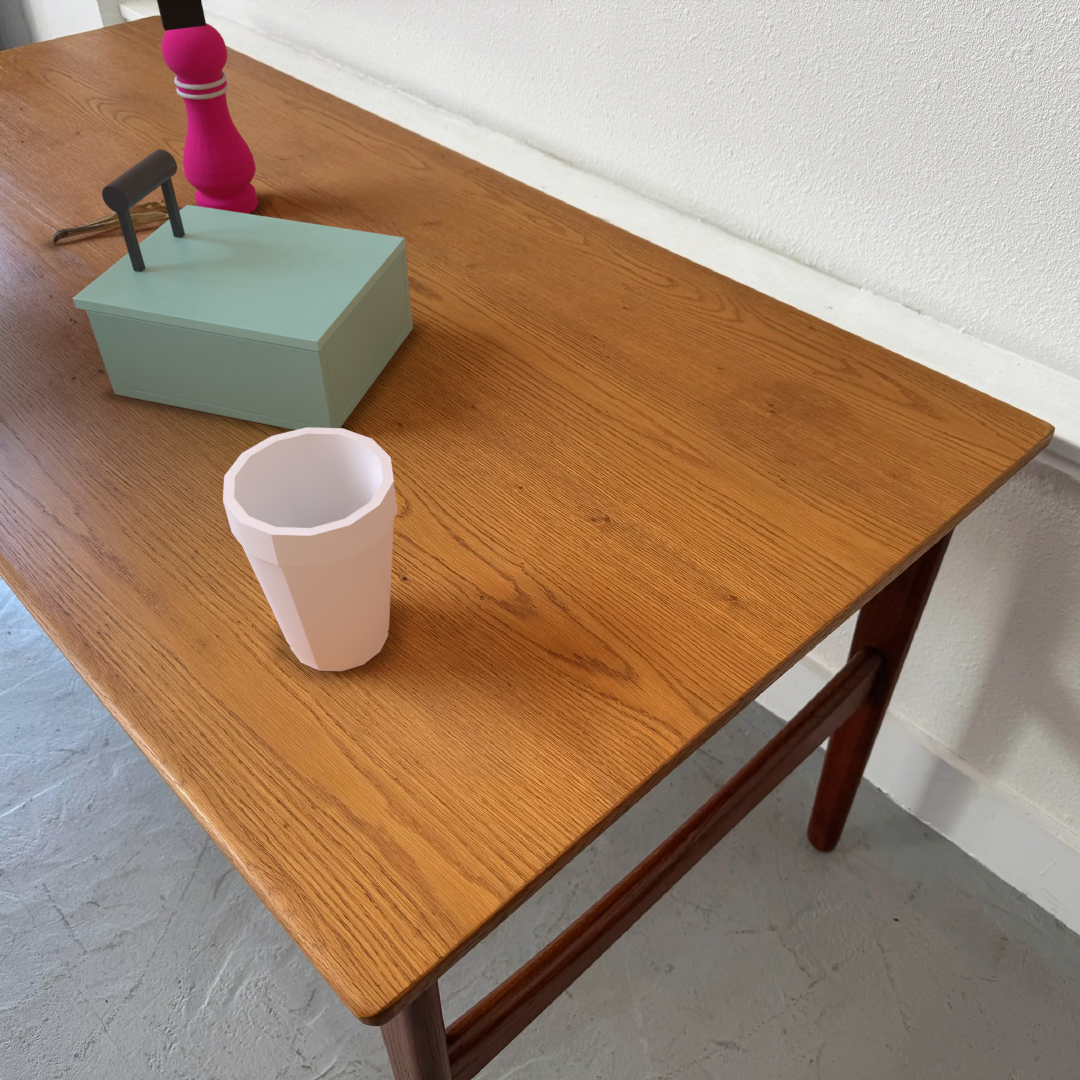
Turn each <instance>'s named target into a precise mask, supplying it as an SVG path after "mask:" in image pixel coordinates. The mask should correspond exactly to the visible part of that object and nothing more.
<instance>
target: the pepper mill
mask: <svg viewBox="0 0 1080 1080" xmlns="http://www.w3.org/2000/svg"><path fill="white" fill-rule="evenodd" d="M161 51H162V53H161V55H162V58H163V61H164V62H165V64H166V66H167V67H168V69H169V70H170V71H172V72H173V73H174V74H175V75H176V76H175V77H174V78H173V83H174V84H175V85H176V94H177V95H178V96H179V97H181V98H182V100H183V103H184V106H185V110H186V111H185V112H186V118H187V130H186V135H185V141H184V146H183V154H182V166H183V173H184V177H185V179H186V180H187V182H188V183H189V184H190V185H191V186H192V187H193V188H195V189H196V191H195V193H194V199H195V203H196V206H199V207H206V208H212V209H219V210H226V211H232V212H239V213H245V214H252V213H253V212H254V211H255V210H256V209H257V207H258V205H259V202H258V197H257V192H256V188H255V186H254V184H252V183H251V182H252V181H253V179H254V177H255V175H256V171H257V170H256V169H257V167H256V162H255V158H254V155H253V153H252V151H251V149H250V147H249V144H248V143H247V141H245V139H244V137H243V136H242V135H241V133H240V131H239V130H238V128H237V127H236V125H235V124H234V121H233V119H232V117H231V113H230V110H229V106H228V101H227V92H228V90H229V88H230V86H229V83H228V81H227V79H228V75H227V73H226V72H225V71H223V70H224V68H225V67H226V64H227V61H228V49H227V45H226V42H225V40H224V38H223V36H222V33H220V32H219V31H218V29H216V28H215V27H214V26H213V25H211V24H209V23H207V22H206V26H199V27H191V28H183V29H175V30H167V31H165V32H164V35H163V37H162V41H161Z"/></svg>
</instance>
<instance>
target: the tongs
mask: <svg viewBox="0 0 1080 1080" xmlns="http://www.w3.org/2000/svg"><path fill="white" fill-rule="evenodd" d="M148 206H149V207H148ZM162 210H167V208H166V204H165V200H164V198H163V199H160V200H158V201H145V202H142V203H137V204H135V205H134V206H133V207H131V208H130V209H129V212H130V215H131V219H132V222H133V226H134V228H137V227H141V226H145V225H147V224H152V223H157V222H162V221H163V222H164V221H168V220H169V216H168V213H166V212H162ZM180 210H181V209H180V208H179V211H180ZM114 228H121V226H120V222H119V219H118V216H117V212H114V211H112V212H111V213H108V214H107V215H104V216H102V217H101V218H98V219H96V220H95V221H90V222H88V223H85V224H82V225H78V226H73V227H68V228H67V227H66V228H62V229H59V230H57V231H56V232H55V233H54V234H53V235H52V243H53V246H54V245H56V244H57V242H58V241H60V240H62V239H67V238H71V237H75V236H80V235H85V234H91V233H96V232H101V231H107V230H110V229H114Z"/></svg>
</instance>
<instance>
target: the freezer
mask: <svg viewBox="0 0 1080 1080" xmlns="http://www.w3.org/2000/svg"><path fill="white" fill-rule="evenodd" d="M407 258H408V257H407V248H406V247H405V248H404V250H403V251H402V252H401V253H400V255H399V256H398V257H397V258H396V259H395V261H394V262H393V263H392V264H391V265H390V267H389V268H388V269H387V270H386V271H385V273H384V274H383V275H382V276H381V277H380V279H379V280H378V281H377V282H376V284H375V285H374V286H373V287H372V288H371V290H370V291H369V292H368V293H367V294H366V296H365V297H364V298H363V299H362V300H361V302H360V303H359V304H358V305H357V306H356V308H355V309H354V310H353V311H352V313H351V314H350V315H349V316H348V317H347V319H346V320H345V321H344V322H343V323H342V325H341V326H340V327H339V328H338V329H337V331H336V332H335V333H334V334H333V335H332V337H331V338H330V339H329V340H328V342H327V343H326V344H325V345H324V346H323V348H322V349H321V350H320V351H319V352H318V351H312V350H306V349H301V348H295V347H290V346H284V345H279V344H273V343H267V342H262V341H256V340H251V339H245V338H240V337H234V336H228V335H223V334H217V333H212V332H206V331H201V330H195V329H189V328H184V327H178V326H173V325H167V324H162V323H156V322H150V321H145V320H139V319H134V318H128V317H123V316H117V315H111V314H106V313H100V312H95V311H89V310H86V314H87V317H88V320H89V323H90V326H91V329H92V332H93V336H94V338H95V340H96V344H97V347H98V350H99V353H100V357H101V359H102V361H103V365H104V368H105V370H106V373H107V377H108V379H109V382H110V385H111V388H112V391H113V393H114V395H116V396H121V397H126V398H130V399H131V398H132V399H135V400H141V401H147V402H150V403H151V402H152V403H157V404H161V405H167V406H172V407H177V408H181V409H186V410H191V411H197V412H202V413H207V414H212V415H218V416H223V417H226V418H227V417H228V418H233V419H238V420H243V421H247V422H251V423H252V422H253V423H258V424H263V425H268V426H272V427H278V428H283V429H288V430H291V431H294V430H298V429H302V428H307V427H309V428H342V427H343V425H344V424H345V422H346V421H347V419H348V418H349V417H350V415H351V414H352V413H353V412H354V410H355V409H356V407H357V406H358V405H359V403H360V402H361V401H362V399H363V398H364V397H365V395H366V394H367V392H368V391H369V390H370V388H371V387H372V385H373V384H374V383H375V382H376V381H377V378H379V376H380V374H381V373H382V372H383V370H384V369H385V368H386V366H387V365H388V364H389V362H390V361H391V360H392V358H393V357H394V356H395V354H396V352H397V351H398V349H399V348H400V347H401V345H402V344H403V343H404V341H405V340H406V339H407V338H408V336H409V334H410V333H411V332H412V330H413V329H414V324H413V313H412V302H411V292H410V291H411V290H410V280H409V271H408V259H407Z"/></svg>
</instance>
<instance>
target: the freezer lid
mask: <svg viewBox="0 0 1080 1080" xmlns="http://www.w3.org/2000/svg"><path fill="white" fill-rule="evenodd" d="M177 171H178V164H177V161H176V159H175V157H174V156H173V155H172V154H171V153H170V152H169V151H167V150H165V149H162V148H161V149H160V148H158V149H155V150H154V151H153V152H151V153H149V154H148V155H147V156H146V157H144V158H143V159H141V160H140V161H139V162H137V163H136V164H135V165H133V166H132V167H130V168H129V169H127V170H126V171H125V172H123V173H122V174H120V175H119V176H118V177H116V178H115V179H114V180H112V181H111V182H109V183H108V184H107V185H105V186H104V187H103V188H102V189H101V197H102V200H103V202H104V203H105V206H106V207H108V208H109V210H111V211H112V212H117V216H118V219H119V222H120V226H121V227H120V230H121V232H122V235H123V239H124V243H125V246H126V249H127V253H126V254H125V255H123V256H122V257H121V258H120V259H118V260H117V261H116V262H115V263H114V264H112V265H111V266H110V267H109V268H107V269H106V270H105V271H104V272H102V273H101V274H99V276H98V277H96V278H95V279H94V280H93V281H91V283H89V284H88V285H86V287H84V288H83V289H82V290H80V291H79V292H78V293H76V294H75V295H74V296H73V297H72V302H73V304H74V308H75V309H78V310H85V311H87V310H89V311H95V312H100V313H106V314H111V315H117V316H123V317H128V318H134V319H139V320H145V321H150V322H156V323H162V324H167V325H173V326H178V327H184V328H189V329H195V330H201V331H206V332H212V333H217V334H223V335H228V336H234V337H240V338H245V339H251V340H256V341H262V342H267V343H273V344H279V345H284V346H290V347H295V348H301V349H306V350H312V351H318V352H319V351H320V350H321V349H322V348H323V346H324V345H325V344H326V343H327V342H328V340H329V339H330V338H331V337H332V335H333V334H334V333H335V332H336V331H337V329H338V328H339V327H340V326H341V325H342V323H343V322H344V321H345V320H346V319H347V317H348V316H349V315H350V314H351V313H352V311H353V310H354V309H355V308H356V306H357V305H358V304H359V303H360V302H361V300H362V299H363V298H364V297H365V296H366V294H367V293H368V292H369V291H370V290H371V288H372V287H373V286H374V285H375V284H376V282H377V281H378V280H379V279H380V277H381V276H382V275H383V274H384V273H385V271H386V270H387V269H388V268H389V267H390V265H391V264H392V263H393V262H394V261H395V259H396V258H397V257H398V256H399V255H400V253H401V252H402V251H403V250H404V248H406V246H407V245H406V238H405V237H402V236H396V235H389V234H385V233H384V234H383V233H377V232H372V231H364V230H357V229H351V228H343V227H337V226H332V225H331V226H330V225H324V224H317V223H310V222H304V221H298V220H291V219H285V218H277V217H272V216H264V215H258V214H252V213H250V214H245V213H239V212H232V211H226V210H219V209H212V208H206V207H199V206H197V205H193V204H186V205H185V206H183V208H181V209H180V208H179V204H178V201H177V197H176V192H175V189H174V184H173V181H172V177H174V176H175V175H176V173H177ZM159 187H160V188H161V192H162V193H161V194H162V196H163V200H165V204H166V208H167V209H166V211H167V214H168V216H169V220H166V221H165V222H164V223H163V224H162V225H160V226H159V227H158V228H157V229H155V230H154V231H153V232H151V234H149V235H148V236H147V237H145V238H144V239H143V240H142V241H140V242H139V239H138V237H137V233H136V230H135V227H134V226H133V222H132V219H131V215H130V212H129V209H130V208H131V207H133V206H134V205H135V204H139V202H140V201H142V200H143V199H145V198H146V197H147V196H149V195H150V194H151V193H152V192H154V191H155V190H157V189H158V188H159ZM179 209H180V211H179Z"/></svg>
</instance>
